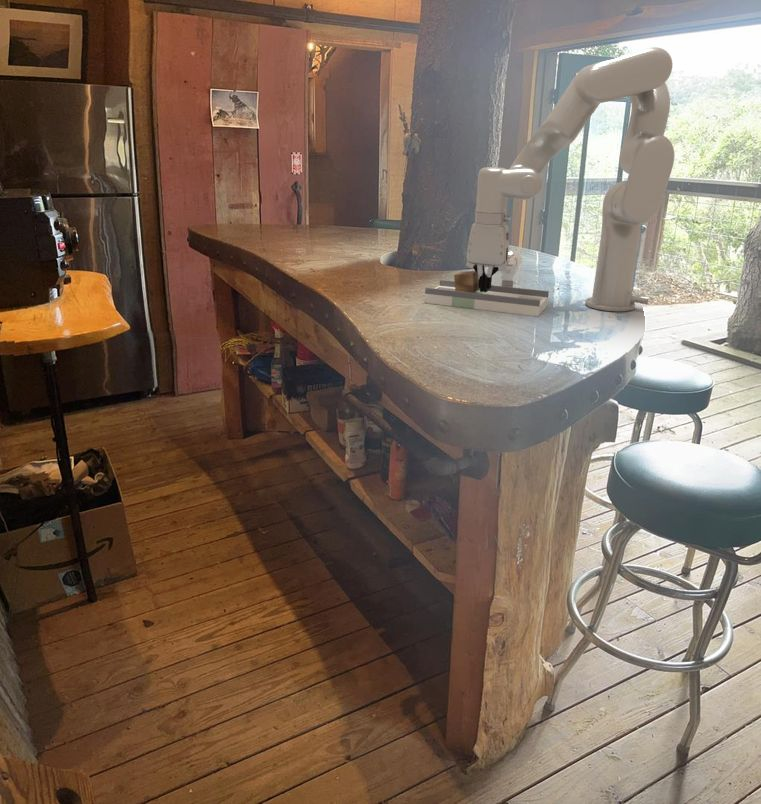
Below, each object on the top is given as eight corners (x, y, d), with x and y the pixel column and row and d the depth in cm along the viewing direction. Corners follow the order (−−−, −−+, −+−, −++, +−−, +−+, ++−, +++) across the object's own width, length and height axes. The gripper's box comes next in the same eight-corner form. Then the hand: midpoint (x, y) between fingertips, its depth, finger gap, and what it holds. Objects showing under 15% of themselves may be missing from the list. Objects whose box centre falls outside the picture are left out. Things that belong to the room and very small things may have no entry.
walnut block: (479, 289, 174) (478, 270, 172) (473, 292, 170) (472, 273, 168) (462, 290, 176) (460, 271, 175) (455, 293, 172) (454, 274, 170)
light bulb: (500, 294, 184) (504, 251, 179) (490, 289, 190) (494, 247, 185) (523, 293, 186) (527, 250, 181) (512, 288, 192) (516, 246, 187)
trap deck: (547, 306, 172) (548, 291, 170) (538, 316, 161) (539, 300, 160) (439, 294, 183) (440, 279, 181) (424, 302, 172) (425, 287, 171)
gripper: (522, 219, 164) (515, 291, 171) (466, 216, 170) (461, 285, 177) (515, 222, 158) (508, 297, 165) (457, 218, 164) (452, 290, 171)
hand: (484, 291), depth 171 cm, fingers closed
